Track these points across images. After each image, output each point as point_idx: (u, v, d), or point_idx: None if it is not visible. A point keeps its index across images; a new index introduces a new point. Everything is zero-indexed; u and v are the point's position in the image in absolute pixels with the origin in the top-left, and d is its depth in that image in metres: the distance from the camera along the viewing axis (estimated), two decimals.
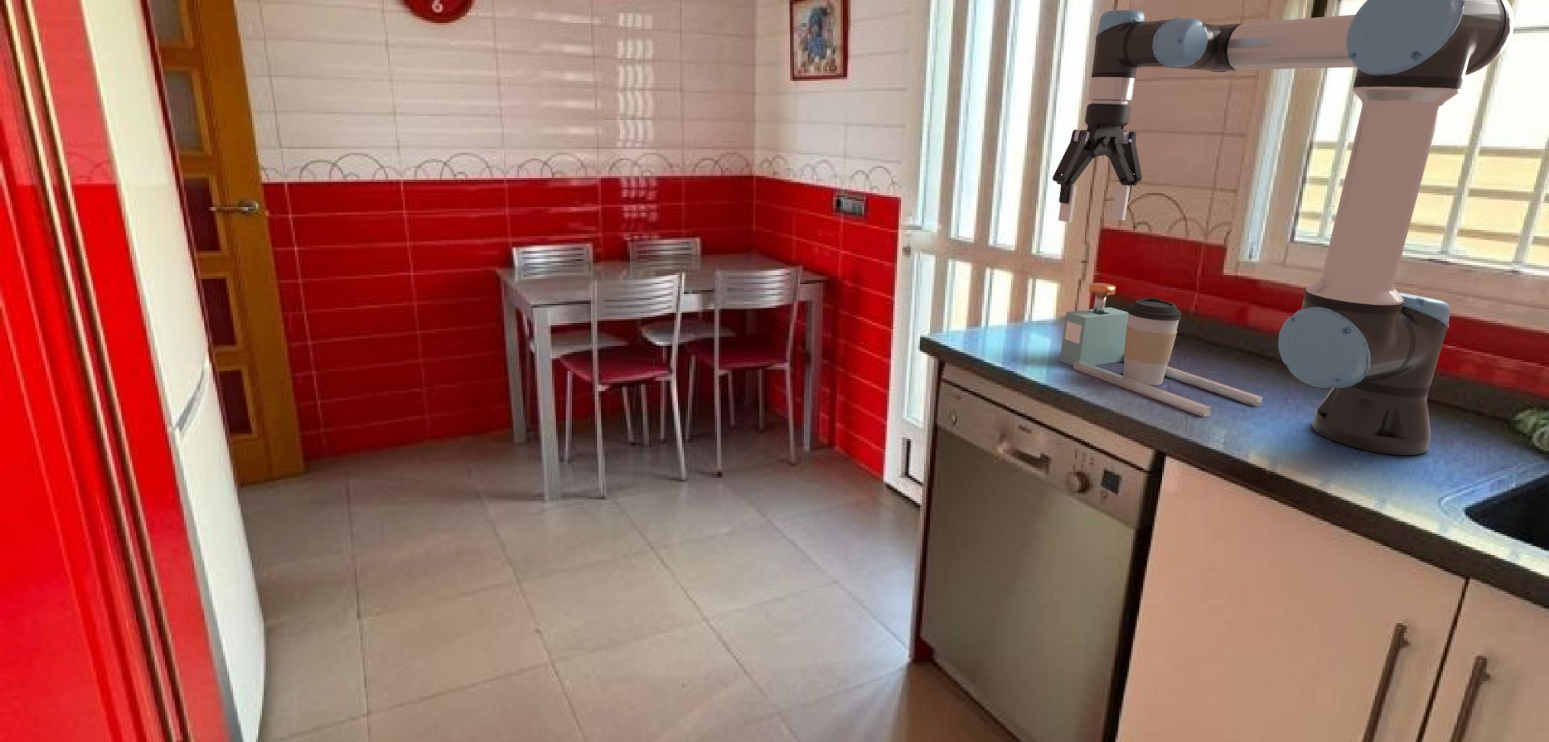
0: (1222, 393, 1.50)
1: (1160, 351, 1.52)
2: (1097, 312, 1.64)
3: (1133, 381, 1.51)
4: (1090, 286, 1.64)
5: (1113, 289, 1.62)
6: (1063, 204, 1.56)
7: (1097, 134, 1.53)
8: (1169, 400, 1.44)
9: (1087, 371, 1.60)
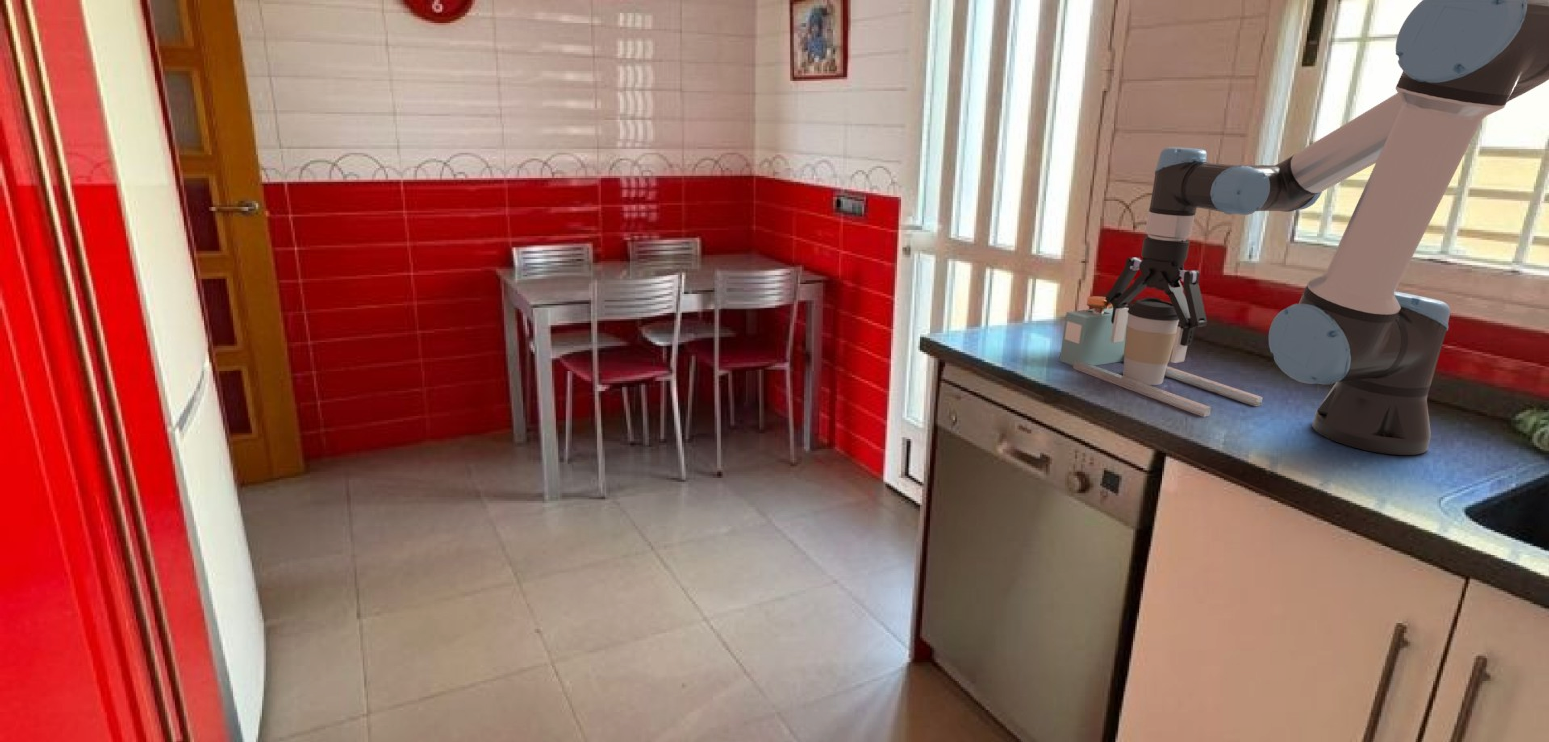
0: (1222, 393, 1.50)
1: (1160, 351, 1.52)
2: None
3: (1133, 381, 1.51)
4: (1088, 299, 1.64)
5: None
6: None
7: (1144, 265, 1.53)
8: (1169, 400, 1.44)
9: (1087, 371, 1.60)
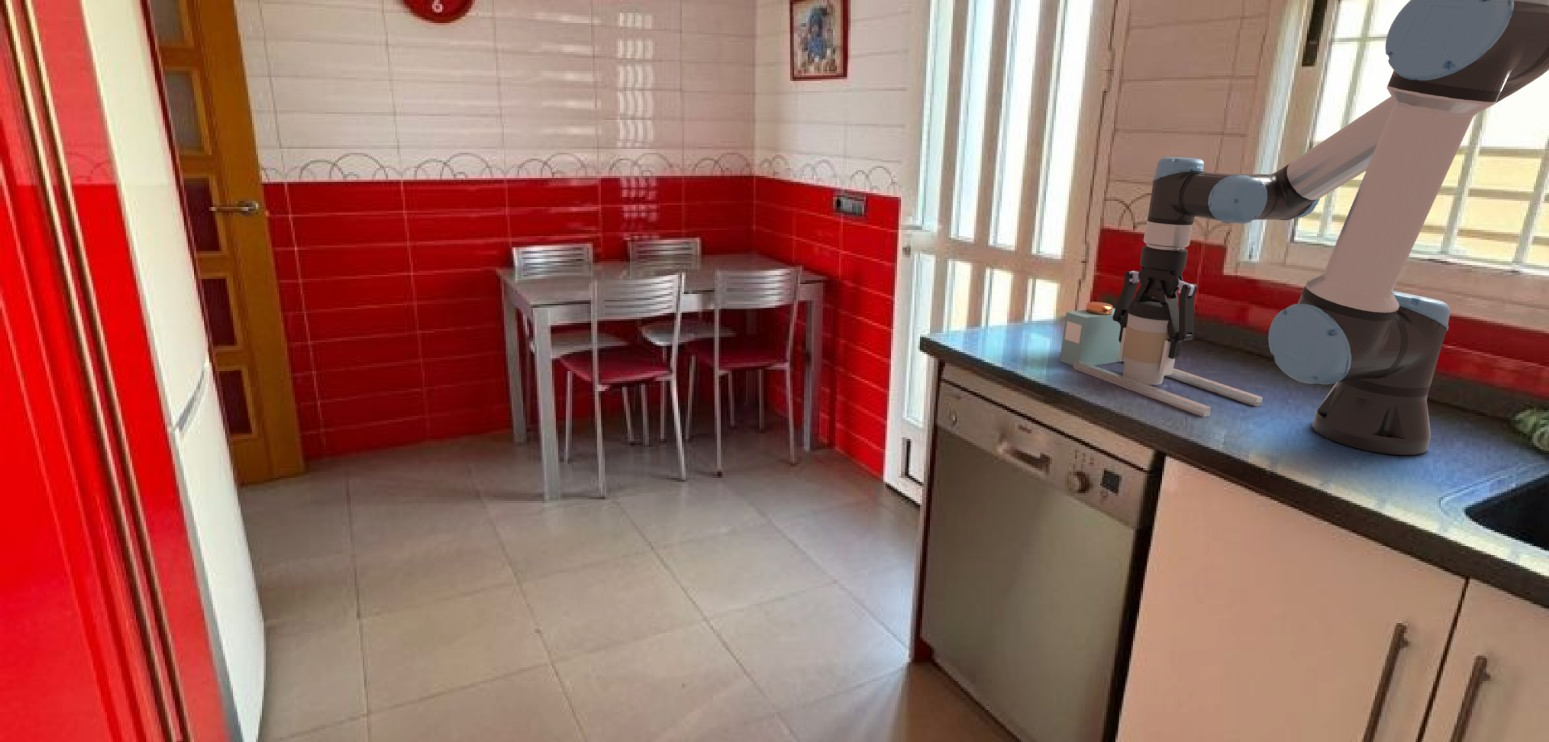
0: (1222, 393, 1.50)
1: (1160, 351, 1.52)
2: None
3: (1133, 381, 1.51)
4: (1087, 305, 1.65)
5: (1110, 308, 1.63)
6: None
7: (1142, 273, 1.54)
8: (1169, 400, 1.44)
9: (1087, 371, 1.60)
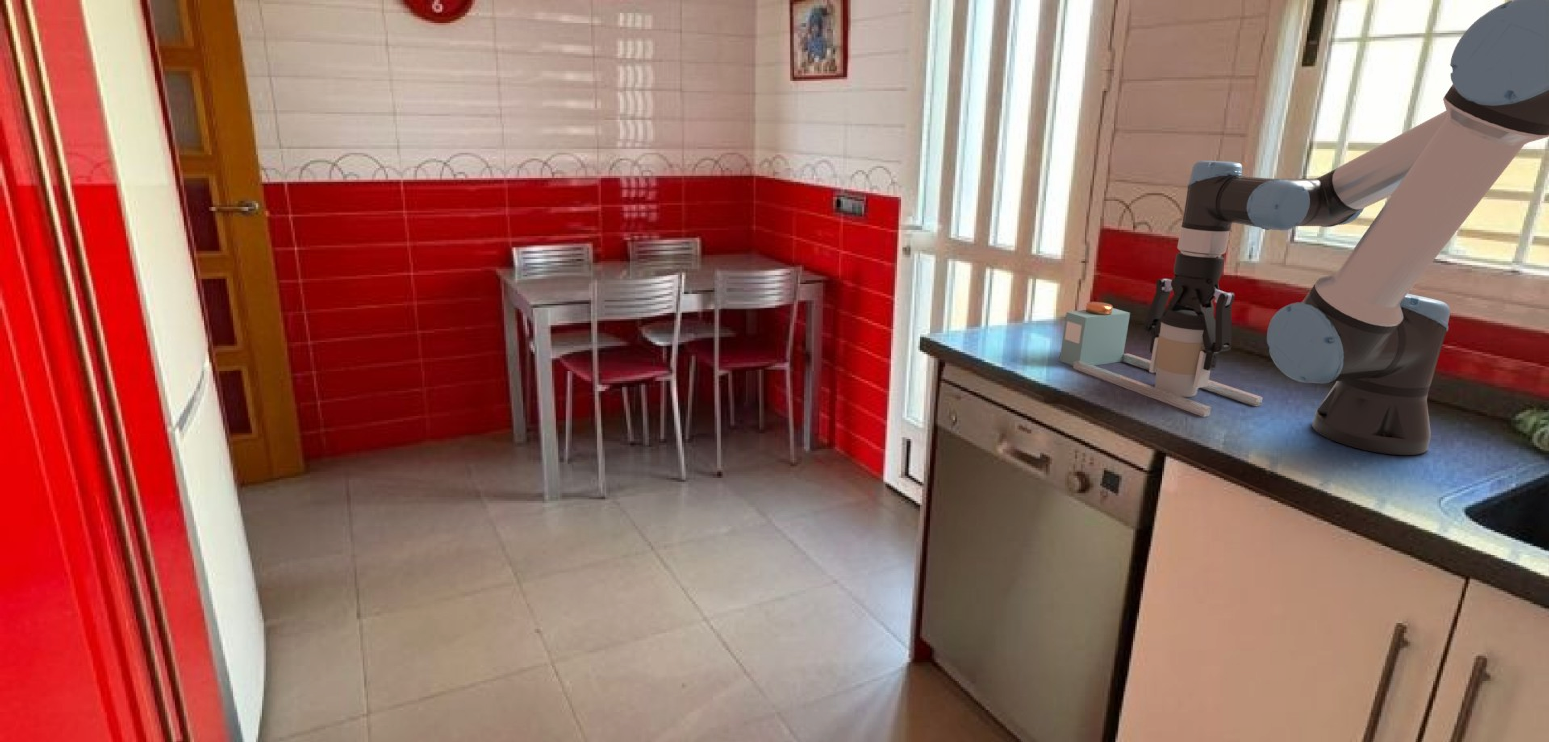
0: (1222, 393, 1.50)
1: (1195, 362, 1.46)
2: None
3: (1133, 381, 1.51)
4: (1087, 305, 1.65)
5: (1110, 308, 1.63)
6: None
7: (1175, 282, 1.48)
8: (1169, 400, 1.44)
9: (1087, 371, 1.60)
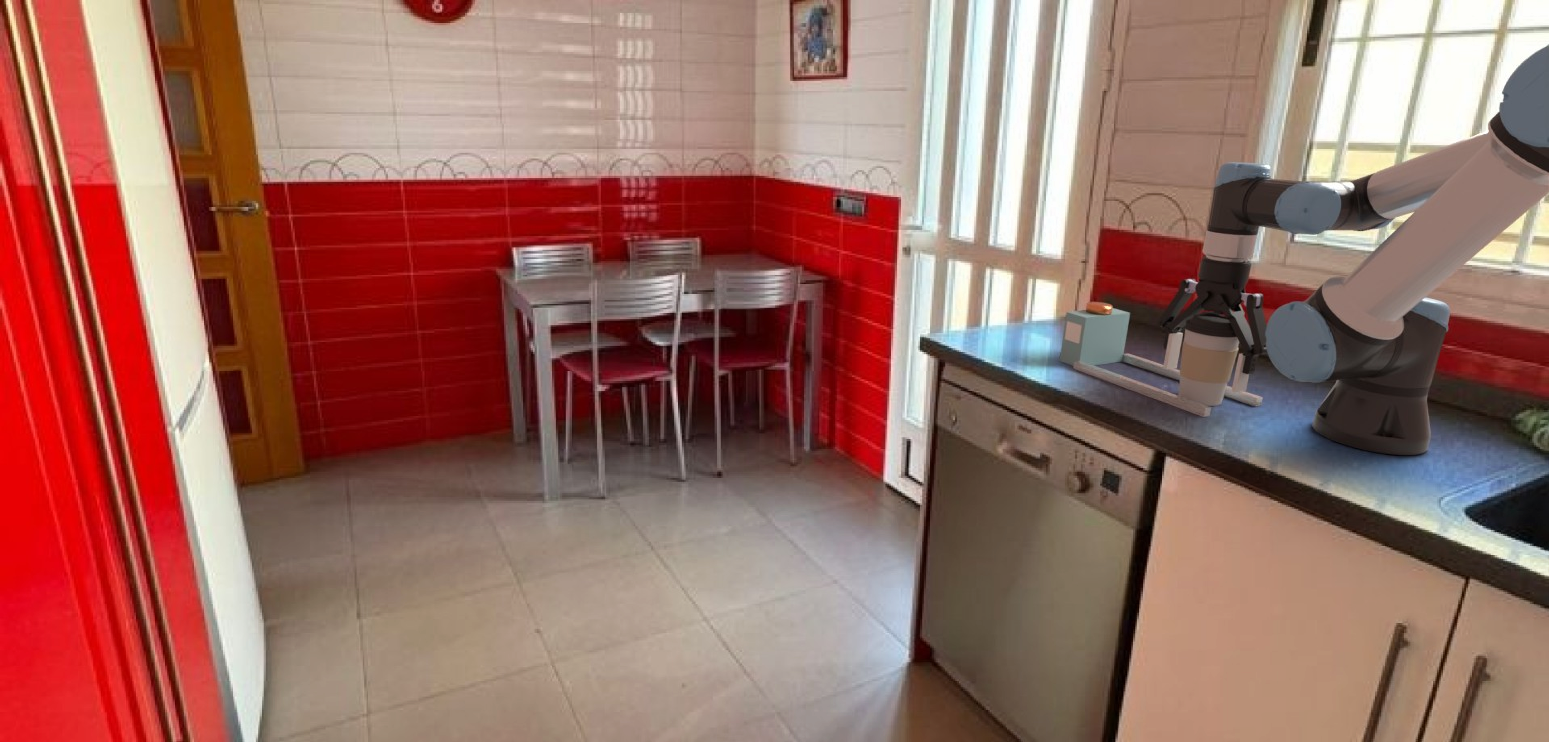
0: None
1: (1221, 370, 1.42)
2: None
3: (1133, 381, 1.51)
4: (1087, 305, 1.65)
5: (1110, 308, 1.63)
6: None
7: (1200, 287, 1.44)
8: (1169, 400, 1.44)
9: (1087, 371, 1.60)
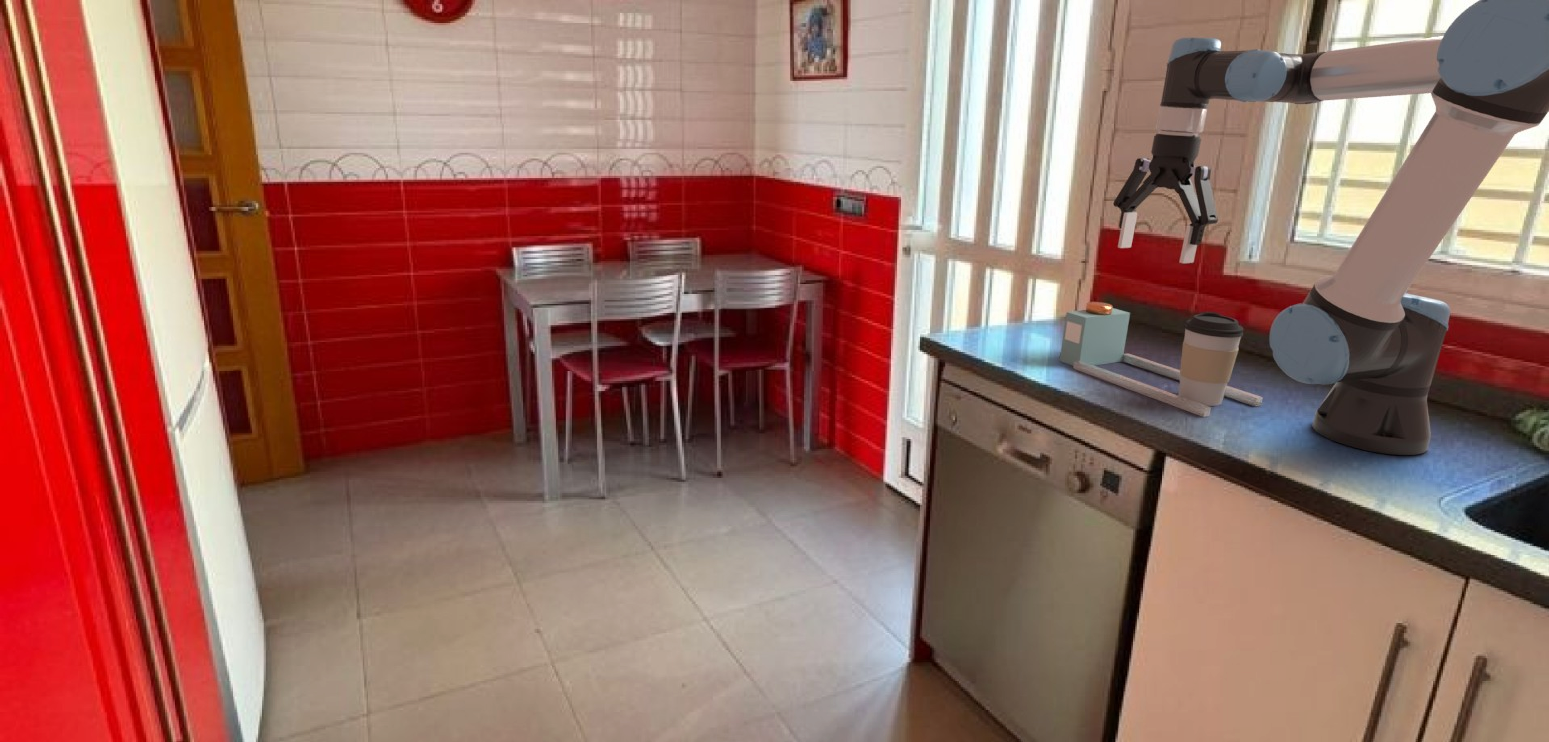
0: None
1: (1221, 370, 1.42)
2: None
3: (1133, 381, 1.51)
4: (1087, 305, 1.65)
5: (1110, 308, 1.63)
6: None
7: (1153, 164, 1.49)
8: (1169, 400, 1.44)
9: (1087, 371, 1.60)
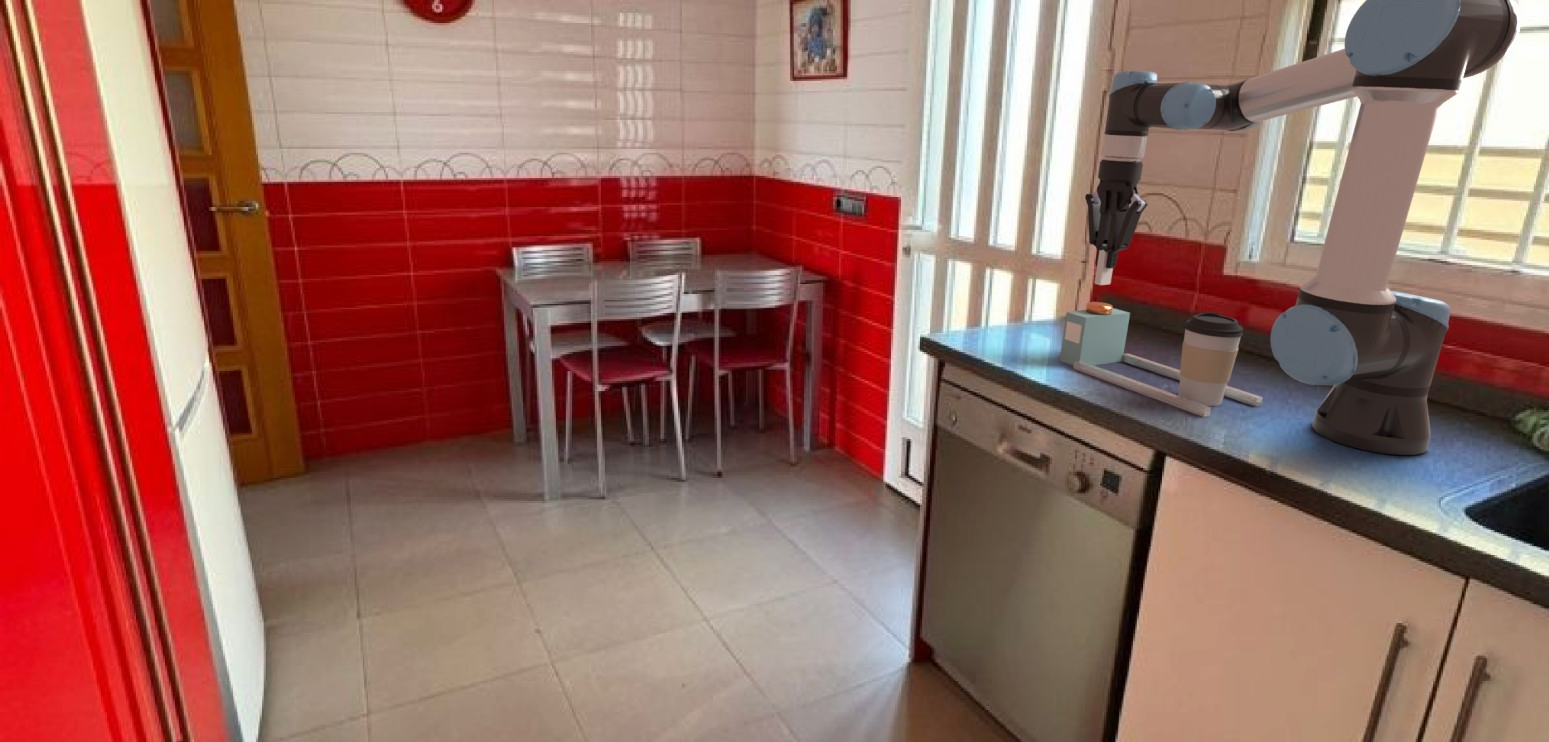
0: None
1: (1221, 370, 1.42)
2: None
3: (1133, 381, 1.51)
4: (1087, 305, 1.65)
5: (1110, 308, 1.63)
6: None
7: (1100, 187, 1.60)
8: (1169, 400, 1.44)
9: (1087, 371, 1.60)
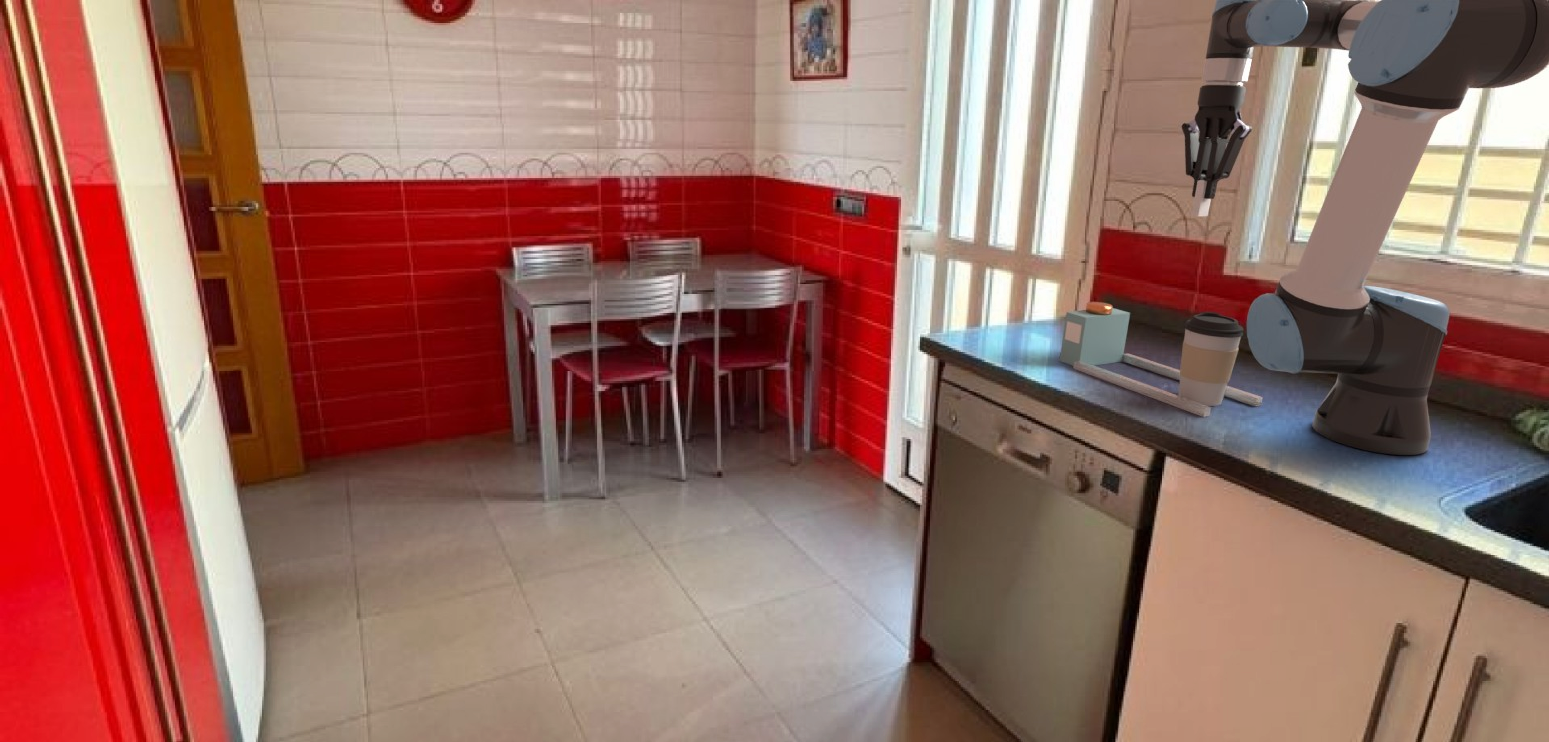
0: None
1: (1221, 370, 1.42)
2: None
3: (1133, 381, 1.51)
4: (1087, 305, 1.65)
5: (1110, 308, 1.63)
6: None
7: (1198, 115, 1.56)
8: (1169, 400, 1.44)
9: (1087, 371, 1.60)
